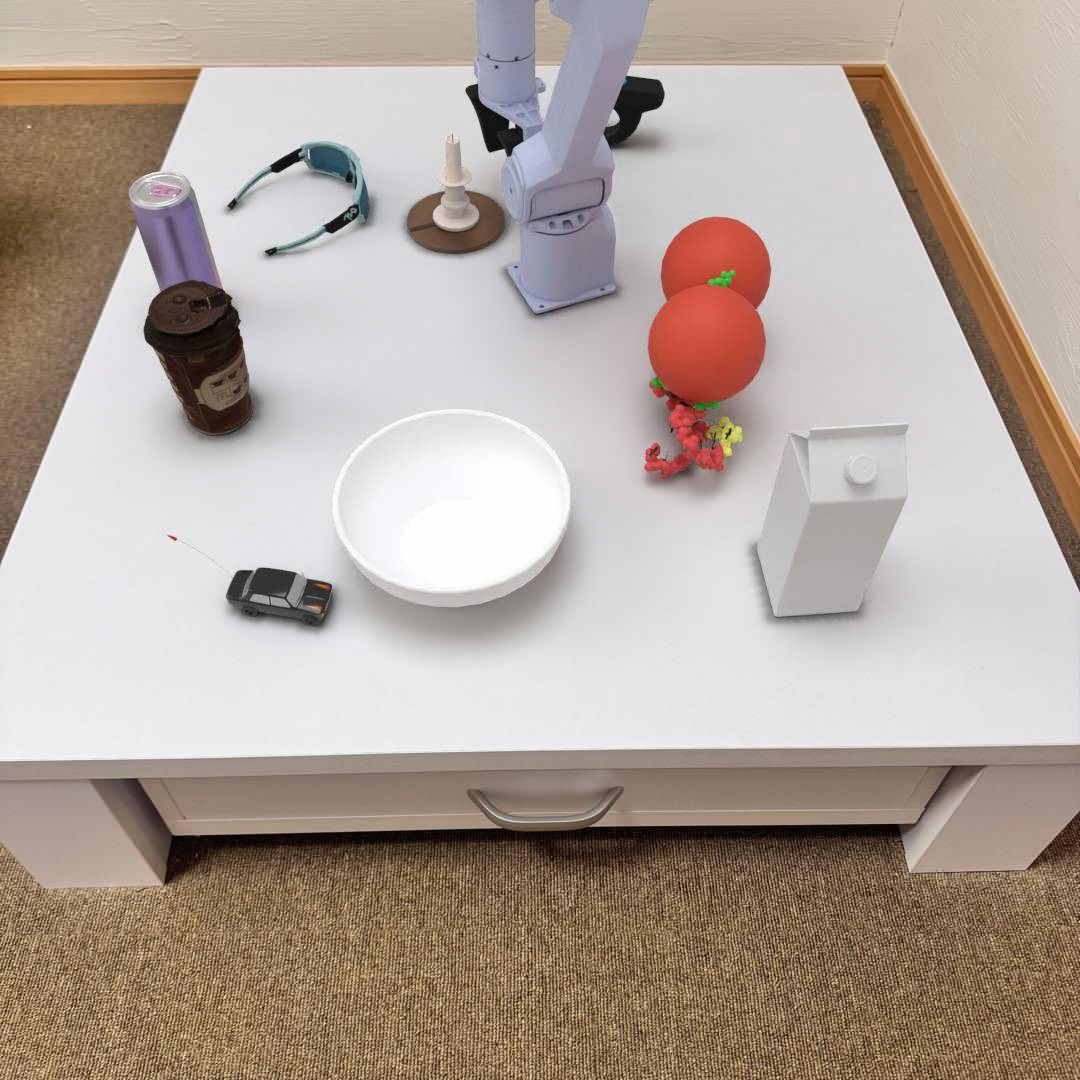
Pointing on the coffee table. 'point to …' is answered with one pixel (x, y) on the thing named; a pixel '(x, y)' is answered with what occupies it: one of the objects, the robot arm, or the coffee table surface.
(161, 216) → the beverage can
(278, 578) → the toy car
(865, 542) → the milk carton
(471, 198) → the coaster
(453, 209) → the candle
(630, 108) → the controller
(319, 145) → the sunglasses
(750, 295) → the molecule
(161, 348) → the coffee cup
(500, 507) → the bowl
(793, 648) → the coffee table surface
